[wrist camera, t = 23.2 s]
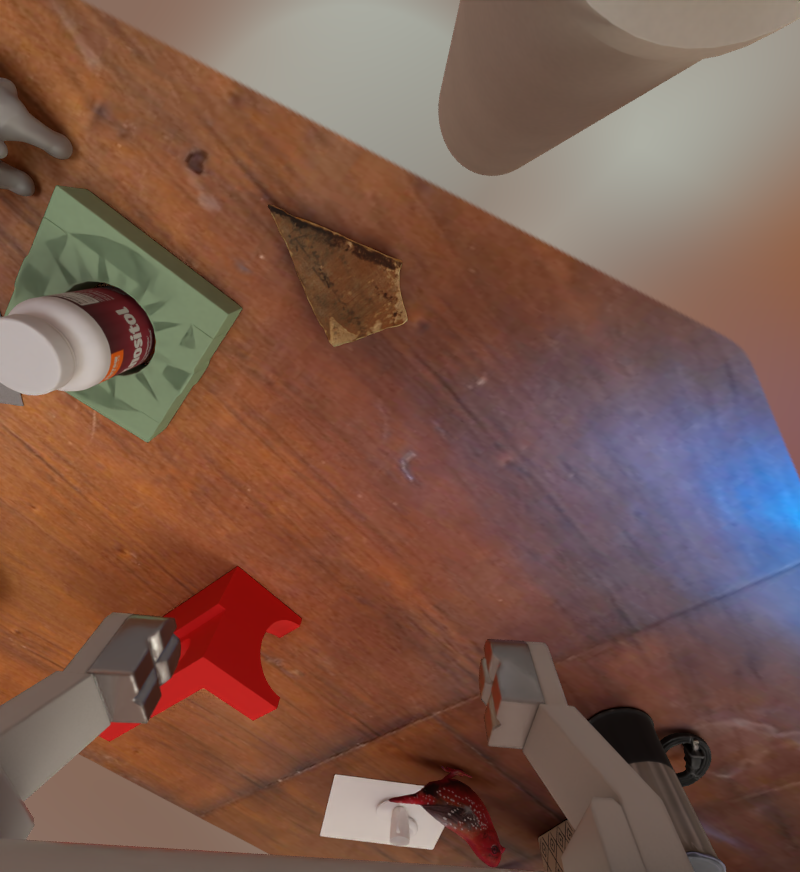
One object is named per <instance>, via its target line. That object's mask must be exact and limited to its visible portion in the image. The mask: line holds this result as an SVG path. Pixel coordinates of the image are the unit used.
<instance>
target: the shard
mask: <svg viewBox="0 0 800 872" xmlns="http://www.w3.org/2000/svg"><path fill="white" fill-rule="evenodd" d="M268 207H269V209H270V211H271V214H272V216H273V218H274V220H275V223H276V225H277V227H278V230H279V232H280V234H281V236H282V238H283V239H284V241H285V242H286V245H287V248H288V250H289V253H290V255H291V257H292V260H293V263H294V265H295V269H296V272H297V275H298V277H299V279H300V282H301V283H302V286H303V288H304V291H305V294H306V296H307V299H308V301H309V303H310V304H311V306H312V308H313V312H314V314H315V315H316V317H317V319H318V322H319V324H320V325H321V326H322V327H323V328H324V330H325V333H326V335H327V338H328V340H329V342H330V343H331V344H332V345H333V346H334V347H335V346H339V345H342V344H345V343H348V342H353V341H356V340H358V339H361V338H363V337H366V336H368V335H370V334H372V333H376V332H379V331H381V330H383V329H386V328H389V327H396V326H400V325H402V324H404V323H405V322H406V321H407V320H408V318H407V314H406V310H405V308H404V304H403V301H402V296H401V292H400V283H399V271H400V268H401V266H402V260H399V259H396V258H392V257H390V256H387V255H385V254H383V253H380V252H379V251H377V250H374V249H372V248H369V247H367V246H365V245H361V244H359V243H356V242H355V241H353V240H351V239H348V238H346V237H344V236H342V235H340V234H339V233H336V232H333V231H331V230H329V229H327V228H325V227H322V226H320V225H318V224H314V223H312V222H310V221H307V220H305V219H302V218H299V217H294V216H292V215H290V214H288V213H287V212H286V211H284V210H283V209H280V208H278V207H275V206H273V205H269V204H268Z"/></svg>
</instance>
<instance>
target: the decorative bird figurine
mask: <svg viewBox="0 0 800 872" xmlns="http://www.w3.org/2000/svg"><path fill="white" fill-rule="evenodd" d="M441 767H442V768H443V769H444V770H445V771H446V772H450V774H448V775H446V776H445V777H444V778H443V779H442V780H438V781H432V782H429V783H428V784H427V785H426V786H424V787H423V788H422V789H421V790H420V791H418V792H416V793H414V794H410V795H404V796H399V797H394V798H391V799H389V801H390V802H394V803H405V804H416V805H421V806H422V807H423V808H424V809H425V810H426V811H427V812H428V813H429V814H430V815H431V816H432V817H434V818H435V819H436V820H437V821H439V822H440V823H441V824H442V825H444V826H445V827H447V828H449V829H450V830H452V831H453V832H455V833H456V834H458V835H459V836H460V837H461V838H463V839H464V840H465V841H466V842H467V843H468V844H469V846H470V847H471V848H472V850H473V851H474V853H475V854H476V855H477V857H478V858H480V859H481V860H482V861H483V862H484V863H485V864H487V865H488V866H490V867H496V866H498V864H499V862H500V860H501V854H502V853H503V852H504V850H505V848H504V847H502V846H501V845H500V843H499V839H498V836H497V833H496V831H495V829H494V826H493V824H492V821H491V818H490V815H489V813H488V811H487V809H486V807H485V805H484V804H483V802H482V801H481V799H480V798H479V796H478V795H477V794H476V793H475V792H474V791H473V790H472V789H471V788H470V787H469V786H467V785H466V784H464V783H462V782H461V781H458V780H456V779H452V777H454V776H455V775H459V776H468V777H472V776H469V775H467V774H465V773H464V772H463V771H462V770H460V769H453V768H449V767H446V769H445V768H444V767H443V766H441ZM447 769H449V770H447Z"/></svg>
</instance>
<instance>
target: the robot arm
mask: <svg viewBox="0 0 800 872" xmlns="http://www.w3.org/2000/svg"><path fill="white" fill-rule="evenodd" d="M176 628H177V625H176V621H175V618H170V617H160V616H149V615H139V614H128V613H115V612H113V613H111V614H110V615H108V616H107V617H106V618H105V619H104V620H103V621H102V623H101V624H100V625H99V626H98V628H97V629H96V630H95V631H94V633H93V634H92V635H91V637H90V638H89V639H88V640H87V642H86V643H85V644H84V645H83V647H82V648H81V649H80V650H79V652H78V653H77V654H76V655H75V657H74V658H73V659H72V660H71V662H70V663H69V664H68V665H67V667H66V668H65V669H64V671H56V672H55V673H53V674H51V675H50V676H48V677H46V678H45V679H43V680H42V681H40V682H38V683H37V684H35V685H34V686H32V687H30V688H29V689H27V690H25V691H24V692H22V693H21V694H19V695H17V696H16V697H14V698H13V699H11V700H9V701H8V702H6V703H4V704H3V705H1V706H0V872H546V871H529V870H513V869H497V868H480V867H464V866H447V865H431V864H415V863H398V862H382V861H365V860H349V859H333V858H316V857H300V856H283V855H267V854H251V853H233V852H218V851H202V850H185V849H168V848H152V847H135V846H134V847H133V846H117V845H102V844H85V843H69V842H51V841H36V840H26V838H27V837H28V835H29V833H30V832H31V830H32V829H33V827H34V818H33V816H32V815H31V813H30V812H29V810H28V808H27V807H26V805H25V804H24V801H25V800H26V799H27V798H28V797H29V796H31V795H32V794H33V793H34V792H35V791H36V790H37V789H39V788H40V787H41V786H42V785H43V784H44V783H45V782H46V781H48V780H49V779H50V778H51V777H52V776H53V775H54V774H56V773H57V772H58V771H59V770H60V769H61V768H62V767H63V766H64V765H66V764H67V763H68V762H69V761H70V760H71V759H72V758H74V757H75V756H76V755H77V754H78V753H79V752H80V751H81V750H83V749H84V748H85V747H86V746H87V745H88V744H89V743H91V742H92V741H93V740H94V739H95V738H96V737H97V736H98V735H100V734H101V733H102V732H103V731H104V730H105V729H106V728H107V727H109V726H110V725H111V723H110V722H117V723H146V724H147V722H148V720H149V719H150V717H151V715H152V713H153V711H154V709H155V707H156V706H157V704H158V702H159V700H160V698H161V696H162V694H161V688H160V686H162V685H163V684H164V683H166V682H167V681H168V680H169V679H171V678H172V676H173V674H174V672H175V670H176V668H177V665H178V662H179V658H180V655H181V642H180V639H179V638H178V637H177V636H176V635H175V634H174V631H175V630H176ZM484 652H485V657H484V658H483V659H481V663H480V668H479V689H480V696H481V700H482V701H483V702H484V704H485V705H486V706H487V707H486V711H485V715H484V722H485V728H486V734H487V740H488V746H494V747H504V748H515V749H523V753H524V754H525V756H526V757H527V759H528V760H529V762H530V763H531V765H532V766H533V768H534V769H535V771H536V772H537V774H538V775H539V777H540V778H541V780H542V781H543V783H544V784H545V786H546V787H547V789H548V790H549V792H550V793H551V795H552V796H553V798H554V799H555V801H556V802H557V804H558V805H559V807H560V808H561V810H562V811H563V813H564V814H565V816H566V818H567V819H568V821H569V822H570V824H571V825H572V827H573V828H574V830H575V832H574V834H573V836H572V838H571V839H570V841H569V843H568V845H567V847H566V849H565V851H564V852H563V854H562V856H561V860H562V864H563V868H564V872H694V870H693V868H692V865H691V863H690V861H689V859H688V856H687V854H686V852H685V850H684V848H683V845H682V843H681V841H680V839H679V836H678V834H677V832H676V830H675V827H674V825H673V823H672V821H671V818H670V816H669V814H668V812H667V809H666V807H665V805H664V803H663V801H662V799H661V798H660V797H659V796H658V795H657V794H656V793H655V792H654V791H653V790H652V789H651V787H650V786H649V785H648V784H647V783H646V782H645V781H644V780H643V779H642V778H641V777H640V776H639V775H638V774H637V773H636V772H635V771H634V769H633V768H632V767H631V766H630V765H629V764H628V763H627V762H626V761H625V760H624V759H623V758H622V757H621V756H620V755H619V754H618V753H617V751H616V750H615V749H614V748H613V747H612V746H611V745H610V744H609V743H608V742H607V741H606V740H605V739H604V738H603V737H602V736H601V734H600V733H599V732H598V731H597V730H596V729H595V728H594V727H593V726H592V725H591V724H590V723H589V722H588V721H587V720H586V719H585V718H584V716H583V715H582V714H581V713H580V712H579V711H578V710H577V709H576V708H575V707H574V706H568V704H567V701H566V698H565V696H564V693H563V690H562V687H561V684H560V681H559V678H558V675H557V672H556V669H555V666H554V663H553V661H552V658H551V655H550V652H549V649H548V646H547V645H546V644H545V643H541V642H524V641H516V640H498V639H487V641H486V642H485V646H484Z"/></svg>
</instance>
